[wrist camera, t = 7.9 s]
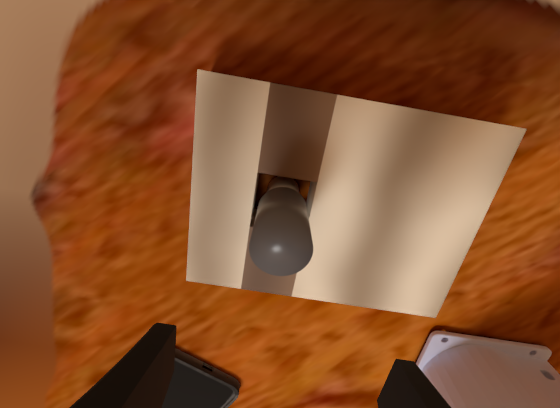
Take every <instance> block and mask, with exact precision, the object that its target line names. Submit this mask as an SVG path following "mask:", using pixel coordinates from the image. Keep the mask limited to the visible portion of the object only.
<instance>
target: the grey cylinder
mask: <svg viewBox="0 0 560 408" xmlns="http://www.w3.org/2000/svg"><path fill="white" fill-rule="evenodd" d="M249 253H250V256H251V259H252V261H253V262H254V264H255V265H256V266H257V267H258V268H259V269H261V270H262V271H264V272H266V273H268V274H271V275H275V276H288V275H292V274H295V273H297V272H299V271H301V270H302V269H304V268H305V267H306V266H307V264H308V263H309V262H310V260H311V258H312V255H313V242H312V236H311V230H310V224H309V218H308V212H307V206H306V202H305V200H304V198H303V197H302V195H301V194H300V193H299V187H298V185H297V183H296V182H295V180H293V179H292V178H288V177H282V176H278V177H276V178H274V179H272V180H271V181H270V183H269V185H268V188H267V192H266V193H265V194H264V195H263V196H262V198H261V199H260V201H259V205H258V209H257V213H256V217H255V222H254V226H253V230H252V234H251V238H250V243H249Z"/></svg>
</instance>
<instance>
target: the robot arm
mask: <svg viewBox="0 0 560 408" xmlns="http://www.w3.org/2000/svg"><path fill="white" fill-rule="evenodd" d="M175 343H176V325H169V324H163V323H156V324H154V325H153V326H152V327H151V328H150V329H149V331H148V332H147V333H146V334H145V335H144V336H143V337H142V338H141V339H140V340H139V341H138V342H137V343H136V344H135V346H134V347H133V348H132V349H131V350H130V351H129V352H128V353H127V354H126V355H125V356H124V357H123V358H122V359H121V360H120V361H119V362H118V363H117V364H116V365H115V366H114V367H113V368H112V369H111V370H110V371H109V372H108V373H106V374H105V375H104V376H103V377H102V378H101V379H100V380H99V381H98V382H97V383H96V384H95V385H94V386H93V387H92V388H91V389H90V390H89V391H88V392H86V393H85V394H84V395H83V396H82V397H81V398H80V399H79V400H77V401H76V402H75V403H74V404H73V405H72V406H71V407H70V408H161V407H162V405H163V402H164V399H165V396H166V393H167V390H168V387H169V384H170V381H171V378H172V375H173V372H174V363H175ZM551 354H552V351H551V350H550V349H549V348H548V347H546V346H540V345H533V344H526V343H519V342H513V341H506V340H499V339H492V338H485V337H479V336H472V335H465V334H458V333H451V332H445V331H433V332H432V333H431V334H430V335H429V337H428V340H427V342H426V344H425V346H424V348H423V350H422V352H421V354H420V356H419V358H418V360H417V362H416V363H415V362H413V361H407V360H400V359H396V360H395V362H394V364H393V366H392V369H391V371H390V373H389V375H388V377H387V380H386V382H385V384H384V386H383V388H382V391H381V393H380V395H379V397H378V399H377V402H378V408H560V374H559V373H558V372H557V371H556V370H555V369H554V368H553V367H552V366H551V365H550V364H549V362H548V361H547V360H548V359H549V358H550V356H551Z"/></svg>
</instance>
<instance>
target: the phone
mask: <svg viewBox="0 0 560 408" xmlns="http://www.w3.org/2000/svg"><path fill="white" fill-rule="evenodd" d="M203 365H204V366H206V367H208V368H210V369H212V372H211V371H209V370H207V369H205V368H203V367H202V366H203ZM227 377H228V378H227ZM239 388H240V384H239V381H238V380H237V379H235V378H234V377H232V376H230V375H228V374H226V373H224V372H222V371H220V370H218V369H216V368H214V367H212V366H210V365H208V364H206V363H204V362H202V361H200V360H198V359H196V358H194V357H192V356H190V355H188V354H186V353H184V352H183V351H181V350H179V349H176V348H175V363H174V372H173V375H172V378H171V381H170V384H169V387H168V390H167V393H166V396H165V399H164V402H163V405H162V407H161V408H228V407H229V406H230V405H231V404H232V403H233V402H234V401H235V400H236V399H237V398H238V395H239Z"/></svg>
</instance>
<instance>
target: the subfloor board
mask: <svg viewBox="0 0 560 408" xmlns="http://www.w3.org/2000/svg"><path fill="white" fill-rule="evenodd" d="M525 132H526V129H524V128H519V127H513V126H508V125H502V124H497V123H491V122H486V121H480V120H475V119H469V118H464V117H458V116H453V115H447V114H442V113H436V112H431V111H425V110H419V109H414V108H408V107H403V106H397V105H392V104H386V103H381V102H375V101H370V100H364V99H359V98H353V97H348V96H342V95H337V94H331V93H326V92H320V91H314V90H309V89H303V88H298V87H292V86H287V85H281V84H276V83H270V82H265V81H259V80H254V79H248V78H243V77H237V76H232V75H226V74H221V73H215V72H209V71H204V70H198V69H197V86H196V105H195V124H194V143H193V162H192V181H191V201H190V220H189V239H188V258H187V277H186V281H192V282H199V283H206V284H212V285H219V286H226V287H233V288H239V289H246V290H253V291H259V292H266V293H273V294H280V295H286V296H293V297H300V298H306V299H313V300H320V301H327V302H333V303H340V304H347V305H353V306H360V307H367V308H374V309H380V310H387V311H394V312H400V313H407V314H414V315H421V316H427V317H434V318H436V316H437V314H438V312H439V310H440V308H441V306H442V304H443V302H444V299H445V297H446V295H447V293H448V291H449V289H450V287H451V285H452V283H453V281H454V279H455V277H456V275H457V273H458V270H459V268H460V266H461V264H462V262H463V260H464V258H465V256H466V254H467V252H468V250H469V248H470V246H471V244H472V241H473V239H474V237H475V235H476V233H477V231H478V229H479V227H480V225H481V223H482V221H483V219H484V217H485V214H486V212H487V210H488V208H489V206H490V204H491V202H492V200H493V198H494V196H495V194H496V192H497V190H498V188H499V185H500V183H501V181H502V179H503V177H504V175H505V173H506V171H507V169H508V167H509V165H510V163H511V161H512V159H513V156H514V154H515V152H516V150H517V148H518V146H519V144H520V142H521V140H522V138H523V136H524V134H525ZM259 173H264V174H270V175H276V176H282V177H288V178H294V179H300V180H306V181H311V183H310V187H309V192H308V196H307V201H306V206H307V212H308V218H309V224H310V230H311V236H312V242H313V255H312V258H311V260H310V262H309V263H308V264H307V266H306V267H305V268H304V269H302V270H301V271H299V272H297V273H295V274H292V275H288V276H275V275H271V274H268V273H266V272H264V271H262V270H261V269H259V268H258V267H257V266H256V265H255V264H254V262H253V261H252V259H251V256H250V253H249V243H250V238H251V234H252V230H253V226H254V222H255V217H256V213H257V209H254V208H255V201H256V194H257V187H258V180H259Z"/></svg>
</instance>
